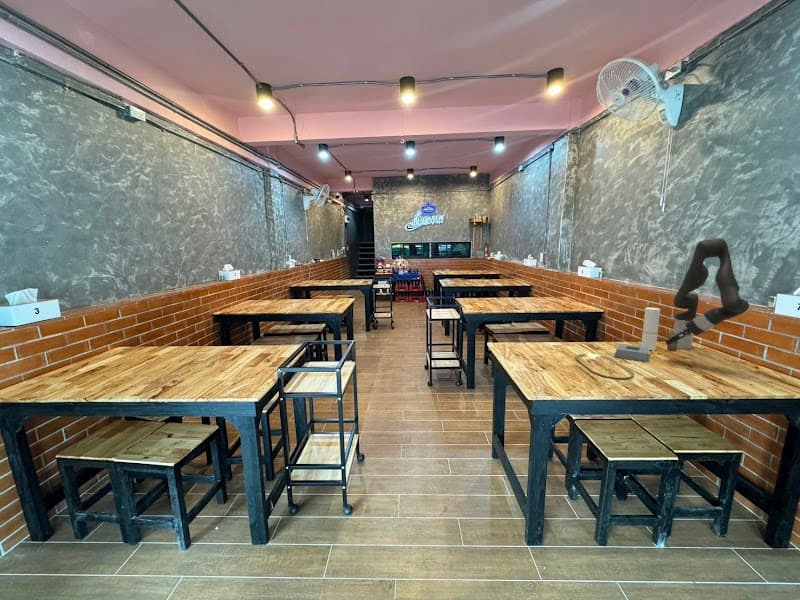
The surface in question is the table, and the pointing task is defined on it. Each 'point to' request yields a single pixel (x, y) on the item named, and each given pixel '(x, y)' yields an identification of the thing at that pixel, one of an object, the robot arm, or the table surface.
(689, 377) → the table surface
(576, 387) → the table surface
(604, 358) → the rubber band
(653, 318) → the tall white block
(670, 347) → the walnut peg
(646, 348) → the socket block
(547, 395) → the table surface
